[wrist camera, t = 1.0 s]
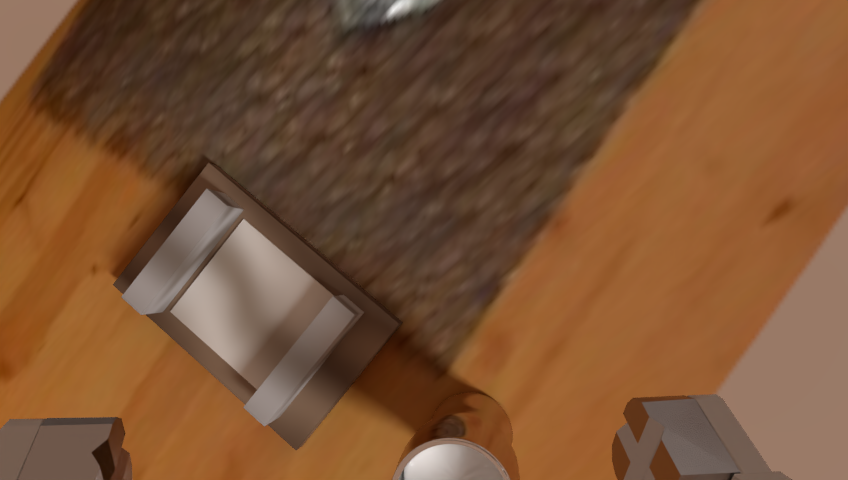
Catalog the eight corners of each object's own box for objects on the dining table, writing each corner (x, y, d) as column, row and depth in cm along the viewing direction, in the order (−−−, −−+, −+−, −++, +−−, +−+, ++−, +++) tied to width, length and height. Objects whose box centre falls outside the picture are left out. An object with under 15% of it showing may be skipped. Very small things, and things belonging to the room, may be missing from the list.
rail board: (217, 165, 53) (190, 155, 49) (402, 322, 51) (391, 327, 46) (124, 284, 54) (88, 285, 49) (302, 445, 51) (282, 461, 47)
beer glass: (425, 482, 50) (387, 571, 35) (421, 386, 50) (381, 434, 35) (521, 482, 49) (523, 573, 34) (516, 384, 49) (516, 432, 35)
